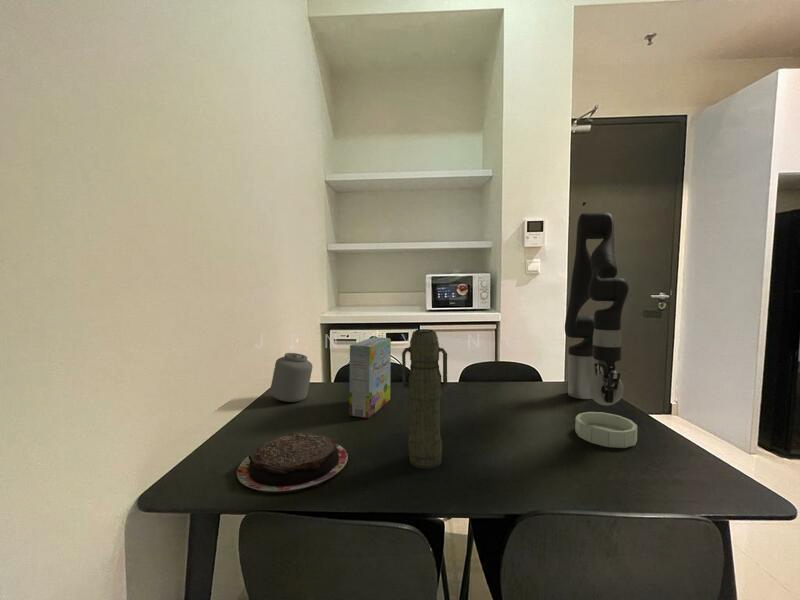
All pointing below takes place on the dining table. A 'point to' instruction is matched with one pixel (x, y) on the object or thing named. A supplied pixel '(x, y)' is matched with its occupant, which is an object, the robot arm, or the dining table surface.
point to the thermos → (424, 398)
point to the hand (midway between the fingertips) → (605, 399)
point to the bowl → (606, 429)
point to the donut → (597, 393)
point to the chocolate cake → (292, 463)
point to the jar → (291, 377)
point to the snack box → (369, 376)
